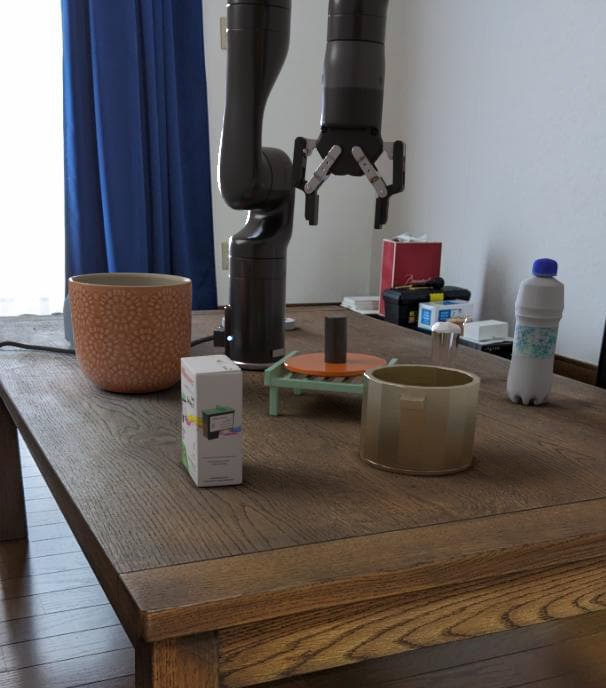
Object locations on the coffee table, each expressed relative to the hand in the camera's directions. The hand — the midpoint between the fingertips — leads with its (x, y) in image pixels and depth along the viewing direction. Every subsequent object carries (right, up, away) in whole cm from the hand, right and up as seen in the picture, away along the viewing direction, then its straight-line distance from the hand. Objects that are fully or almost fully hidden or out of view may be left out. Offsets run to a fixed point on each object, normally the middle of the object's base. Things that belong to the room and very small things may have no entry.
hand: (345, 227), depth 115 cm
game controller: (-15, +2, +67) cm, 69 cm away
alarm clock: (-38, -6, +44) cm, 59 cm away
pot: (+7, -31, -13) cm, 34 cm away
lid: (-1, -17, +6) cm, 18 cm away
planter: (-30, -18, +16) cm, 38 cm away
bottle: (+27, -20, +15) cm, 37 cm away
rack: (-1, -22, +8) cm, 24 cm away
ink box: (-15, -33, -21) cm, 42 cm away
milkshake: (+17, -15, +27) cm, 35 cm away
